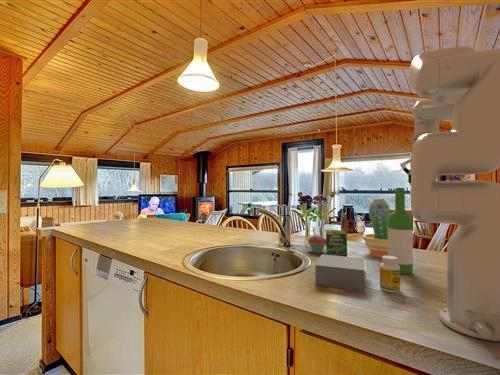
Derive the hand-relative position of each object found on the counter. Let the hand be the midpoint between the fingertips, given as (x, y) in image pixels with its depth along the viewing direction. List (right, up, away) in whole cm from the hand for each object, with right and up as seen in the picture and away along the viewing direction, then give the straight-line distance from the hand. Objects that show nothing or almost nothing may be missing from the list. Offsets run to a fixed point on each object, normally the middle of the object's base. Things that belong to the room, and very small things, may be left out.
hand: (426, 185), depth 99 cm
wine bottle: (-12, -31, -4) cm, 34 cm away
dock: (-36, -31, -12) cm, 49 cm away
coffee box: (-31, -31, +7) cm, 45 cm away
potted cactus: (-7, -31, +20) cm, 38 cm away
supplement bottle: (-25, -31, -20) cm, 45 cm away
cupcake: (-34, -31, +26) cm, 53 cm away
